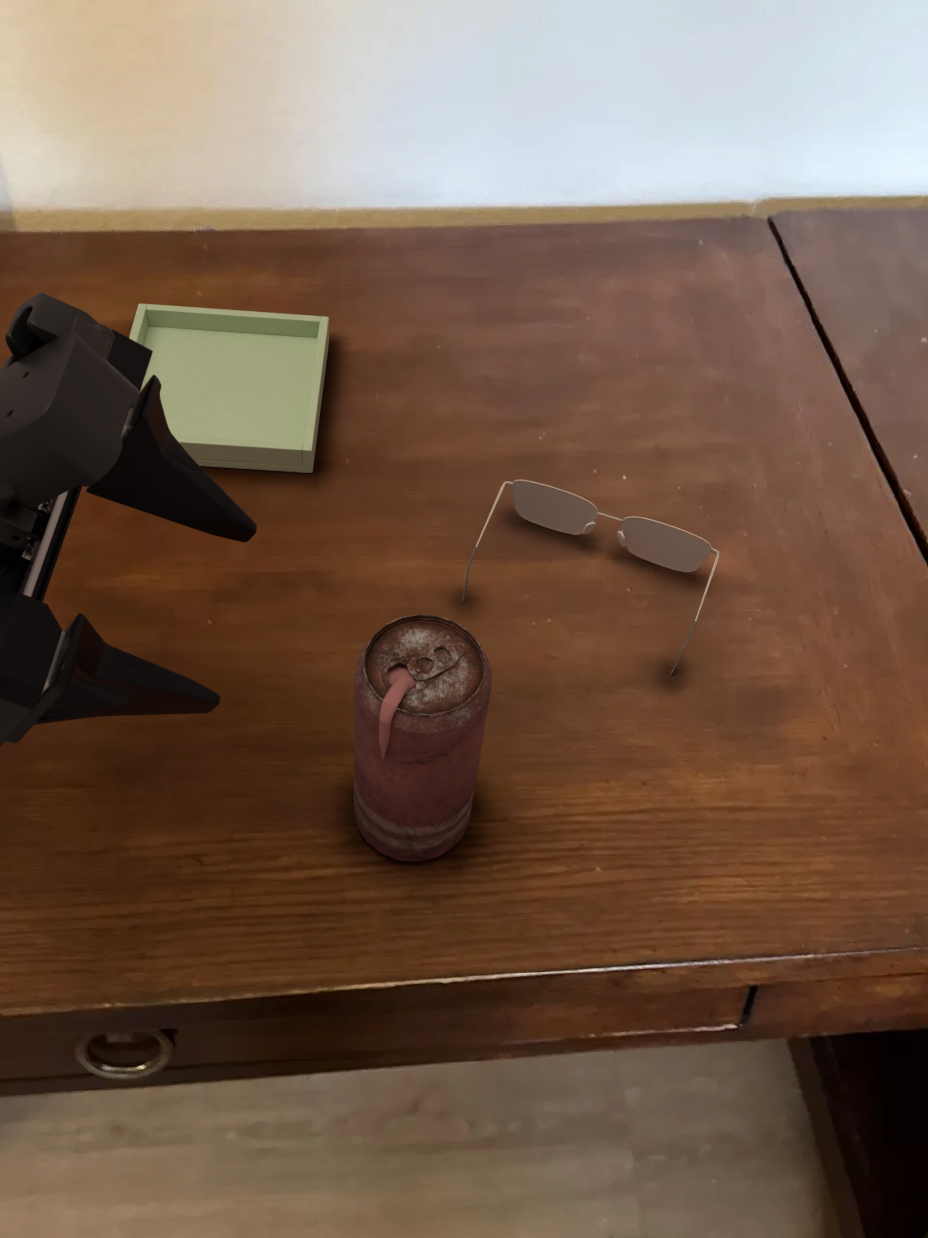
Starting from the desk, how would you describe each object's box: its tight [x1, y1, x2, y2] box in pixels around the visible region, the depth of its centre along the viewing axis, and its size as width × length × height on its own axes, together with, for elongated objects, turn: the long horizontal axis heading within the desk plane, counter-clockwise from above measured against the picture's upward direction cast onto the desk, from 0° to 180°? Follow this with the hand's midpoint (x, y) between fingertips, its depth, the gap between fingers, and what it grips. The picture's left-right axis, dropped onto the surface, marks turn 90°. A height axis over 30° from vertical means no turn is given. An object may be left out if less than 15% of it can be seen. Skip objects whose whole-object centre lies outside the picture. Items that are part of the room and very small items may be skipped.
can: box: [353, 613, 493, 863], centre depth 59 cm, size 6×6×14 cm
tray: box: [128, 303, 330, 474], centre depth 81 cm, size 13×13×2 cm
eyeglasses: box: [461, 479, 720, 675], centre depth 73 cm, size 14×8×4 cm, turn 69°
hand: (235, 615), depth 52 cm, fingers open, 9 cm apart
